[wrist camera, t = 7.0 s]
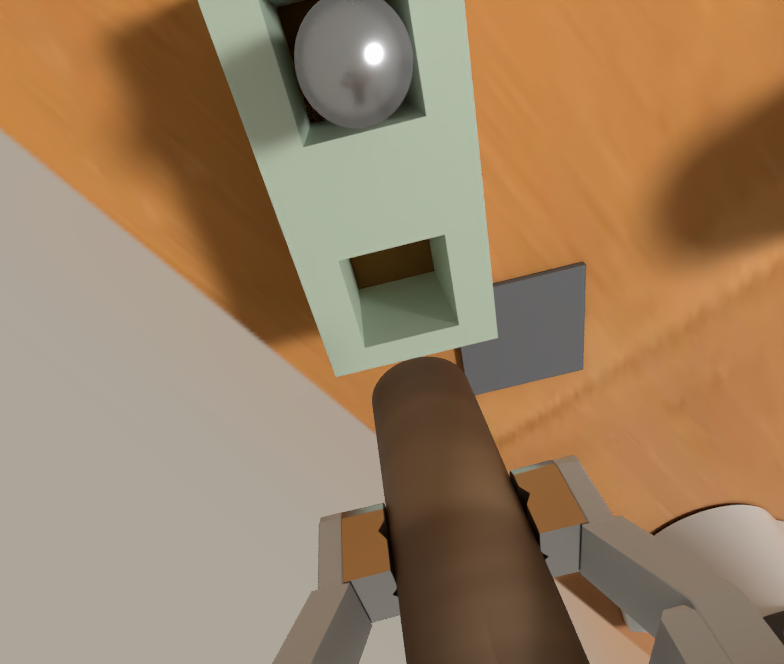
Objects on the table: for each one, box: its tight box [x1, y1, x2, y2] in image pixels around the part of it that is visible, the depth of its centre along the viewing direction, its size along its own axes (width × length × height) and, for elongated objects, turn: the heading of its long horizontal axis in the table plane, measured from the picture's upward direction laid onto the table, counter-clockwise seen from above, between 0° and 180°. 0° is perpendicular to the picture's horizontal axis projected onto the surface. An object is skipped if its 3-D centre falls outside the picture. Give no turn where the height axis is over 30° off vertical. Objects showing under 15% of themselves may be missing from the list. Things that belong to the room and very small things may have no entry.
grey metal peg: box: [294, 0, 413, 128], centre depth 15 cm, size 3×3×10 cm
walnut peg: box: [372, 357, 590, 664], centre depth 9 cm, size 3×3×10 cm
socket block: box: [198, 0, 498, 377], centre depth 20 cm, size 16×8×6 cm, turn 12°
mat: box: [460, 262, 586, 395], centre depth 29 cm, size 8×8×1 cm
